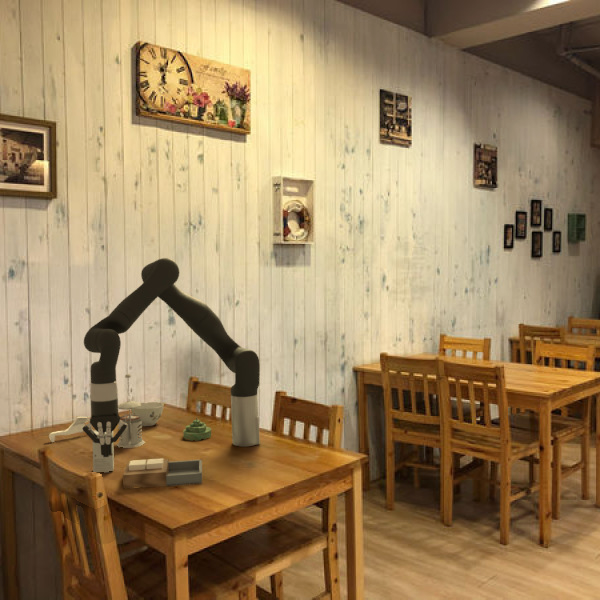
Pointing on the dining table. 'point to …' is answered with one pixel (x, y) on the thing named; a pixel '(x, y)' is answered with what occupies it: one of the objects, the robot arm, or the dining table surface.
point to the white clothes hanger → (71, 428)
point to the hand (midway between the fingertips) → (106, 456)
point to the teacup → (149, 412)
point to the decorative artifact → (197, 431)
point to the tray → (184, 473)
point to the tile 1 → (137, 465)
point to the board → (146, 476)
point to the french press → (130, 425)
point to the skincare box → (102, 458)
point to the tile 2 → (155, 463)
